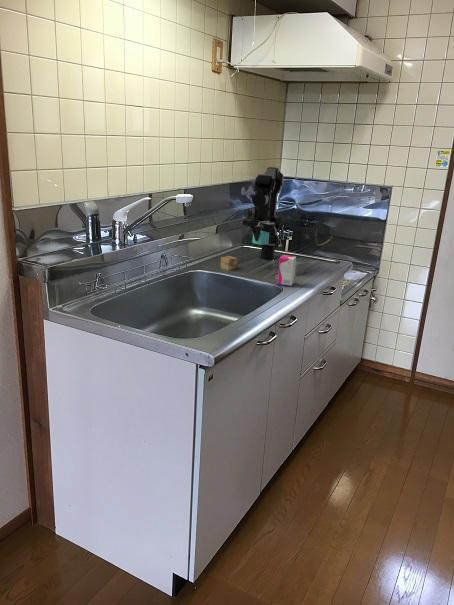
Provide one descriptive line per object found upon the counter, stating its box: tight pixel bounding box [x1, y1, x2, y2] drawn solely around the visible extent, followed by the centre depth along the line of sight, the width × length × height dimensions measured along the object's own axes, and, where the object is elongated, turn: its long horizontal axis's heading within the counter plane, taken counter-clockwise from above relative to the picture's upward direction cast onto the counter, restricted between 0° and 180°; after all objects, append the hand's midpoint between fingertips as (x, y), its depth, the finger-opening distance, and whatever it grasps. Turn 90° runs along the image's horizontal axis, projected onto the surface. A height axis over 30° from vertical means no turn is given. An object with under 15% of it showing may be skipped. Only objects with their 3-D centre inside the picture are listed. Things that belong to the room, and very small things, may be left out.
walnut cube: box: [220, 255, 238, 271], centre depth 220 cm, size 5×5×5 cm
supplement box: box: [277, 254, 297, 288], centre depth 200 cm, size 6×6×12 cm
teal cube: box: [252, 231, 269, 245], centre depth 218 cm, size 5×5×5 cm
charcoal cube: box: [295, 260, 305, 276], centre depth 218 cm, size 5×5×5 cm
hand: (260, 240), depth 218 cm, fingers closed on teal cube, 5 cm apart
